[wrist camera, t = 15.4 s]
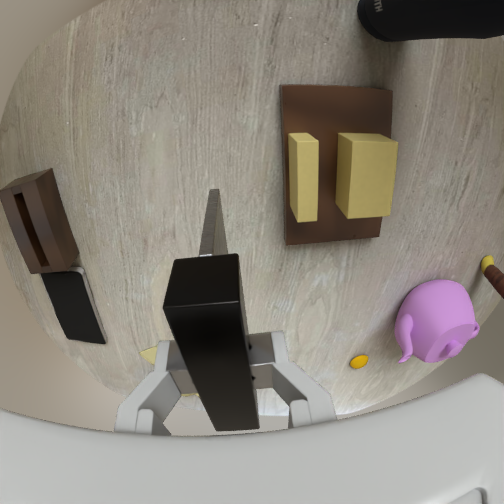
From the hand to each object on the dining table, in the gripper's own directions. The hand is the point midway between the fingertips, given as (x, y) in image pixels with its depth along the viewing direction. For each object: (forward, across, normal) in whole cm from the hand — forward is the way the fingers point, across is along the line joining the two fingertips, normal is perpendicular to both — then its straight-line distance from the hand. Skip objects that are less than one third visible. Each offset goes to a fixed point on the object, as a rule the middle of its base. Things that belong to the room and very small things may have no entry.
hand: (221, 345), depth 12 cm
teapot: (+22, -30, +24) cm, 45 cm away
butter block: (+21, -14, 0) cm, 26 cm away
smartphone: (+23, +26, +17) cm, 38 cm away
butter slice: (+21, -8, 0) cm, 22 cm away
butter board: (+23, -12, 0) cm, 26 cm away
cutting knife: (+6, 0, 0) cm, 6 cm away
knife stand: (+23, +24, +2) cm, 33 cm away
